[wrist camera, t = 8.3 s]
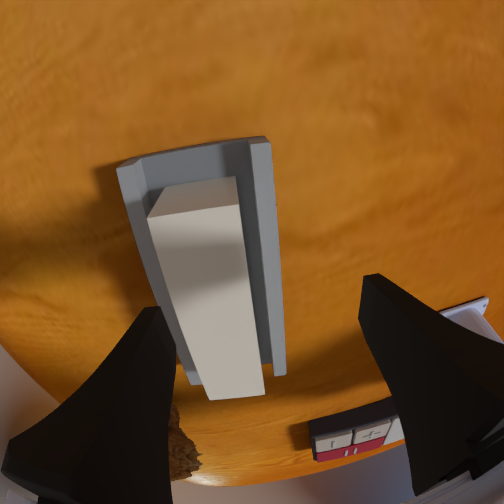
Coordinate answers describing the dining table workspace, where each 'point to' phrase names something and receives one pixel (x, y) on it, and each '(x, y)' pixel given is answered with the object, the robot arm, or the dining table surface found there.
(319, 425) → the calculator
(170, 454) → the stuffed squirrel
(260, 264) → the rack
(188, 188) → the white rectangular block
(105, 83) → the dining table surface
